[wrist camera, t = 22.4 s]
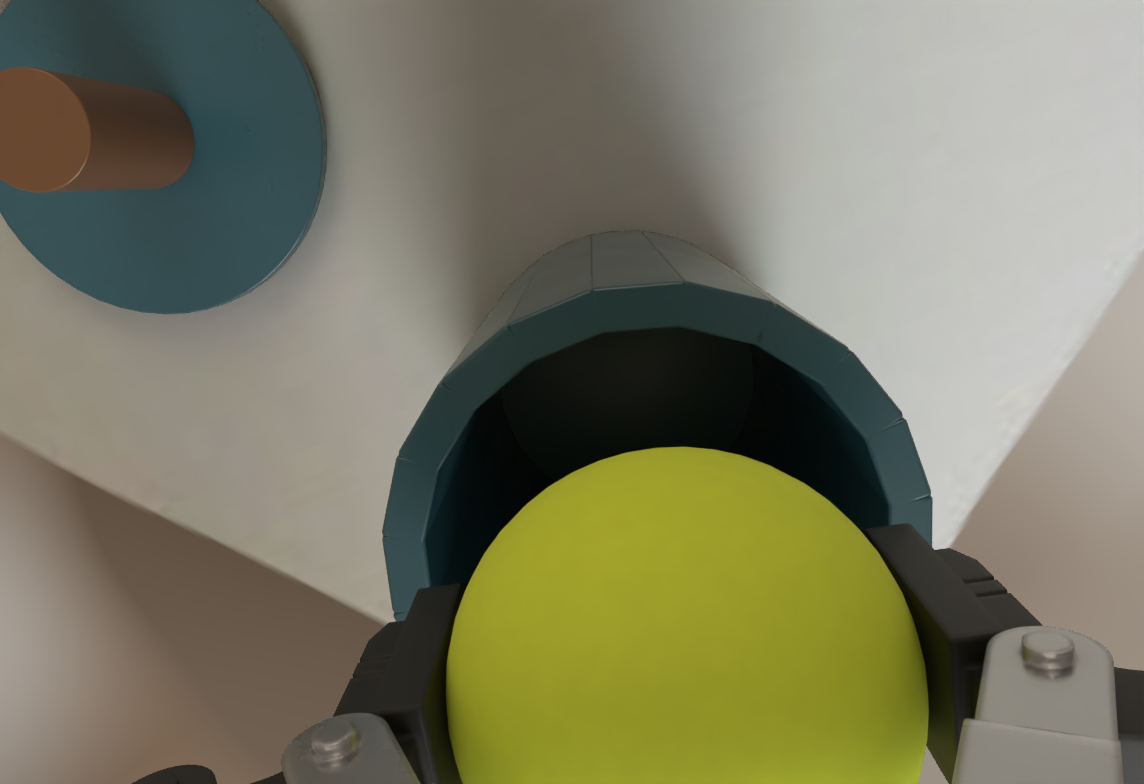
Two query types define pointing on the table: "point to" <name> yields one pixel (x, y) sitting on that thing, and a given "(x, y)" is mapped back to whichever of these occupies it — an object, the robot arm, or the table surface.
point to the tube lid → (157, 146)
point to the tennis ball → (684, 636)
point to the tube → (636, 401)
